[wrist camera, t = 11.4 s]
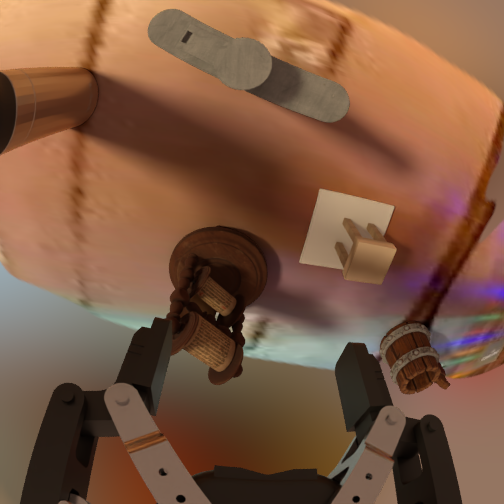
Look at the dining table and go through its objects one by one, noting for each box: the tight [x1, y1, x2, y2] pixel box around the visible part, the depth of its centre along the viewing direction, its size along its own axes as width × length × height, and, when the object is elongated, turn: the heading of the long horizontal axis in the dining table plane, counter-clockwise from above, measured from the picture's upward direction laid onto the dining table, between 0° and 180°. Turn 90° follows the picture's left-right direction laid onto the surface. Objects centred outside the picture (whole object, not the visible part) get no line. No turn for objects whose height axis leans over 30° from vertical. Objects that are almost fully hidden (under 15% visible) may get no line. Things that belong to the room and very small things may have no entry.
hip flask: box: [148, 9, 350, 123], centre depth 24 cm, size 16×4×20 cm, turn 62°
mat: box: [299, 188, 394, 269], centre depth 43 cm, size 12×12×1 cm
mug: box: [380, 321, 450, 394], centre depth 50 cm, size 12×14×15 cm
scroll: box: [165, 226, 267, 385], centre depth 38 cm, size 15×15×20 cm
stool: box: [334, 218, 397, 285], centre depth 40 cm, size 6×6×8 cm
